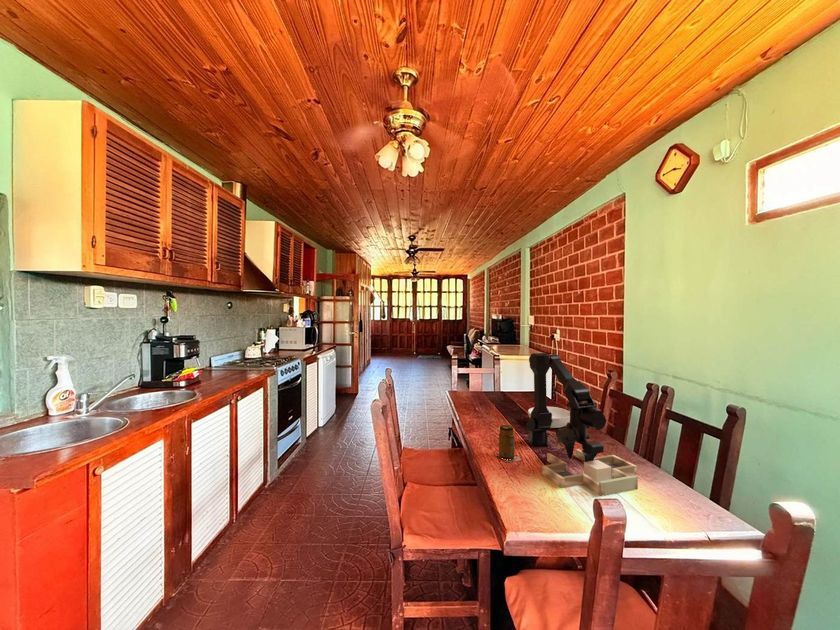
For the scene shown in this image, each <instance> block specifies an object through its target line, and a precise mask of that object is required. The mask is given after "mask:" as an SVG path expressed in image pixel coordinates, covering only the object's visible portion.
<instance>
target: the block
mask: <svg viewBox="0 0 840 630" xmlns="http://www.w3.org/2000/svg"><path fill="white" fill-rule="evenodd" d="M583 473H584V474H586V475H588V476H589V477H591V478H593V479H594V480H596V481H598V482H599V481H604V480H610V479H612V477H611V467H610V466H608V465H606V464H605V463H603V462H601V461H599V460H595V461H588V462H584V461H583Z"/></svg>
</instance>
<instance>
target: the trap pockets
mask: <svg viewBox="0 0 840 630" xmlns="http://www.w3.org/2000/svg"><path fill="white" fill-rule="evenodd" d="M595 459H597V460H599V461H601V462H603V463H605V464H606V465H608V466H610V467H611V478H613V477H612V468H616V470H617V469H618V470H620V471H622V472H624V473H626V474H628V475H630V476H632V475H635V476H638V465H636V464H633V462H629V461H627V460H626V459H623V458H621V457H619V456H617V455H615V454H609V455H603V456H596V457H595ZM564 462H565V461H564ZM564 462H563V463H557V464H551V463H549V464H545V465H541V475H542V476H544V477H545V478H547V479H548V480H549V481H551V482H552V483H553V484H555V485H557V487H560V488H561V489H564V488H569V487H574V486H575V487H576V486H580V485H584V484H583V475H584V474H582V473H576V474H573V473H572V472H570V471H569V470H567V471H565V464H566V463H567V462H566V463H564Z"/></svg>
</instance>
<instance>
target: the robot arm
mask: <svg viewBox="0 0 840 630" xmlns="http://www.w3.org/2000/svg"><path fill="white" fill-rule="evenodd" d="M528 362H529V368H530V370H531V371H532V373H533V386H534V387H533V391H534V394H533V395H534V396H533V398H534V399H533V401H534V406H533V407H534V409H533V410H532V412H531V418H530V417H529V420H528V421H527V422H526V423H525V426H526V427H525V428H526V430H527V431H529V439H528V443H529V444H530V445H531V446H532V447H534V448H535V447H537V448H540V447H543V448H544V447H549V444H548V441H549V439H548V438H549V437H548V433H547V431H550V430H551V428H550V427H551V424H552V413H551V412H549V411H548V409H547V406H548V405H547V404H548V403H547V402H548V400H547V396H548V395H547V373H548V372H549V369H550V370H552V372H553V373H554V375H555V376H556V378H557V379H558V380H559V382H560V383H561V385H562V387H563V394H564V395H565V397H566V399H567V401H568V402H567V403H566V404H565V407H568V408H569V411H570V422H569V423H567V425H566V426H565V428H558V429H557V428H556V431H555V438H556V440H557V442H558V443H561V445H563V446H564V448H565V451H566V454H567V457H568V459H569V460H571V459H572V458H573V454H574V451H575V450H574V449H575V444H576V443H577V444H580V445H581V449H582V450H581V451H582V452H583V453H584V456H585V462H588V461H593V460H594V458H595V457H597V455H598V454H601V453H604V450H605V449H604V445H603V444H602V443H600V442H598V441H596V440H590V436H589V435H588V429H590V428H593V429H595V430H597V431H601V430H602V429H604V428H605V426H606V423H607V419H606V416H605V415H604V414H603V413H602V409H600V408H597V405H596V402H595V400H594V399H593V397H592V395H591V392H590V390H589V389H588V388H587V386H585V384H583V383H582V382H580V381H578V380H577V379H575V377H574V376H573V375H572V374H571V372H570V371H569V369H568V368H567V366H565V364H564V363H563V362H562V360H561V358H560V355H558V354H548V353H546V352H536V353H535V352H533V353H531V354H530V355H529V358H528ZM587 440H589V441H587Z"/></svg>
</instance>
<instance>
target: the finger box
mask: <svg viewBox="0 0 840 630" xmlns="http://www.w3.org/2000/svg"><path fill="white" fill-rule="evenodd" d="M546 457H547V458H546V461H547V462H548V463H549V464H557V463H563V462H564V463H566V464H565V471H568V462H566V461H564V460H562V459H560V458H559V457H557V456H556V455H554V454H552V453H551V452H547V453H546ZM575 458H577V459H579V460H581V461H582V462H583V463H584V462H585V456H584V453H583V452H582V450H581V449H579V448H575ZM595 460H597V459H595V458H594V460H593V461H595ZM581 474H584V472H582V473H581ZM638 483H639V477H638V475H631V476H630V475H628V474H626V473H624V472H622V471H620V470H618V469H617V470H616V468H612V477H611V479H610V480H604V481H599V482H598V481H596V480H594V479H593V478H591V477H589V476H588V475H586V474H584V475H583V484H582V485H584V486H585V487H587V488H588V489H590V490H591V491H593V492H595V493H597V494H598V495H600V494H601V495H604V496H607V495H606V494H609V495H614V494H618V492H619V493H624V492H623V491H625V492H628V491H629V490H630V491H634V490H633V489H635V490H638V488H639V485H638ZM613 493H614V494H613ZM601 495H600V496H601Z"/></svg>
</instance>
